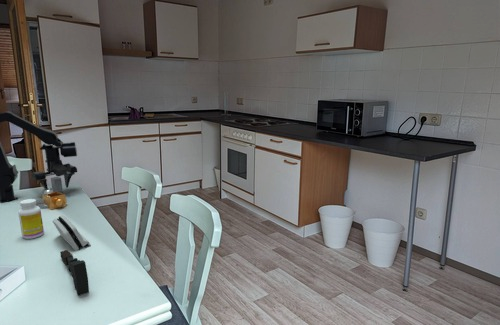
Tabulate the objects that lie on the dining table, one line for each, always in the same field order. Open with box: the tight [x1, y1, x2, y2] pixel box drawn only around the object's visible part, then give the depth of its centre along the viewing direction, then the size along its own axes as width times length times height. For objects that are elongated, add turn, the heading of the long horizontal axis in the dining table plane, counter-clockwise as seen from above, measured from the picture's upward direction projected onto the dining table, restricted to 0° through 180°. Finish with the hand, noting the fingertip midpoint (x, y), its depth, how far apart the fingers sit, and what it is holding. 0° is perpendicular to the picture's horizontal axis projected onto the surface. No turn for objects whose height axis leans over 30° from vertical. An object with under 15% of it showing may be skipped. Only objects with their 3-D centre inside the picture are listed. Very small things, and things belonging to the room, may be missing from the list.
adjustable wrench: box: [60, 249, 90, 297], centre depth 100 cm, size 8×3×25 cm
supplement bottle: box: [18, 198, 45, 240], centre depth 124 cm, size 7×7×13 cm
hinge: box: [52, 214, 92, 251], centre depth 120 cm, size 17×5×10 cm, turn 42°
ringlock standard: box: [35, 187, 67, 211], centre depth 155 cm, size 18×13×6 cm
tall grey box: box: [50, 176, 64, 194], centre depth 170 cm, size 4×3×8 cm
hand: (57, 189), depth 170 cm, fingers open, 9 cm apart
